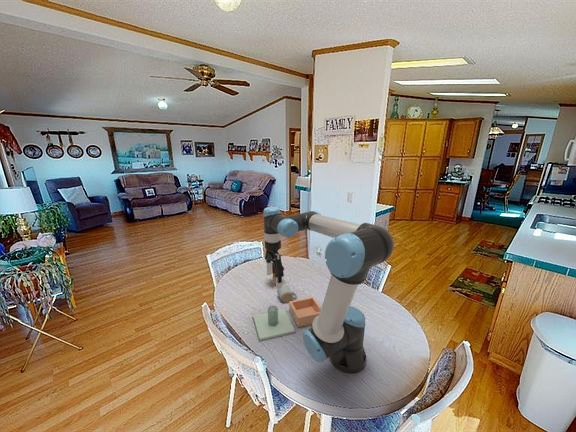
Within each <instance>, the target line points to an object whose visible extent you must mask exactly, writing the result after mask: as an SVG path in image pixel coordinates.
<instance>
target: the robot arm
mask: <svg viewBox="0 0 576 432" xmlns="http://www.w3.org/2000/svg"><path fill="white" fill-rule="evenodd" d="M262 217H263V238H264V248H265V254H264V260H265V262H266V275H267V276H271V275H273V273H272V263H274V267H275V271H276V275H277V276H275V277H276V285H275V288H276V290H277V289H279V288H282V285H283V277H285V274H284V271H283V268H282V266H283V263H282V254H280V253H279V250H280V249H281V248H282V241H281V239H282V238H281V237H285V238H287V239H289V238H293V237H294V236H296V235H297V233H298V232H303V231H307V230H308V231H312V232H315V233H317V234H322V235H323V236H327V237H329V238H332V239H331V240H330V241H329V242H328V243H327V245H326V248H325V252H324V259H326V261H325V265H326V267H327V269H328V271H329V273H330V279H329V282H328V284H327V285H328V286H327V289H326V292H325V294H324V295H325V296H324V299H323V301H322V305H321V311H320V315H318V316H317V317H316V318H315V319H314V320H313V323H312V325H311V327H310V328H309V329H306V330H305V331H304V332H303V333H302V341H303V342H302V343H303V344H304V348H305V350H306V351H307V353H308V354H309V356H310V357H311V358H312V359H313V360H314V361H315V362H317V363H323V362H324V361H327V360H328V359H329V361H330V363H331V364H332V365H333V366H334V367H335V368H336V369H337V370H338V371H341V372H343V373H346V374H356V373H360V372H362V370H363V369H364V368H365V367H366V364H367V353H366V350H365V347H364V339H365V328H366V316H365V314H364V312H363V311H361V310H360V309H359V308H357V307H356V306H355V307H354V306H351V304H352V301H353V300H354V299H353V298H354V296H355V293H356V291H357V288H358V286H359V285H362V284H363V283H364V282H365V281H366V280H367V278H368V274H369V272H370V270H371V269H372V268H373V267H376V266H379V265H380V264H382V263H384V262H386V261H387V260H389V258H390V257H391V255H392V254H393V251H394V245H395V244H394V239H393V236H392V234H391V233H390V232H389V231H388V230H387V229H386V228H384V227H382V226H379V225H376V224H372V223H368V222H363V223H360V224H359V223H355V222H352V221H346V220H343V219H339V218H334V217H330V216H325V215H322V214H321V213H320V212H319V211H318V210H309V211H306V212H301V213H297V214H292V215H288V216H285V215H282V214H281V209H280V207H277V206H267V207H265V208H264V209H263V216H262Z"/></svg>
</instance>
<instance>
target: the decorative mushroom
mask: <svg viewBox="0 0 576 432" xmlns="http://www.w3.org/2000/svg"><path fill="white" fill-rule="evenodd" d="M282 268H283V272H284V271H285V267H284V265H282ZM272 273H273V274H272V283H273V285H274V286H276V277H275V276H277V275H276V271H275V267H274V263H273V262H272Z"/></svg>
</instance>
